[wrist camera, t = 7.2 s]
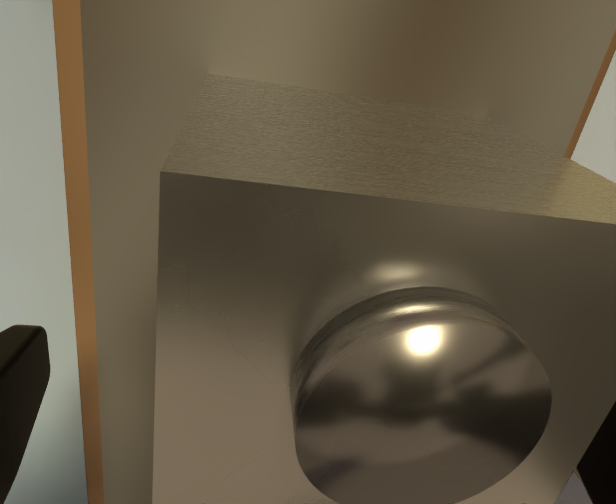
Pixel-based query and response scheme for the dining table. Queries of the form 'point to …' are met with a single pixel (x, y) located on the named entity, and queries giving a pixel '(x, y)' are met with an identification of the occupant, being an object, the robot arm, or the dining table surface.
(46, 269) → the dining table surface
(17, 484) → the dining table surface
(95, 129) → the stand
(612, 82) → the dining table surface
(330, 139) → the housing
